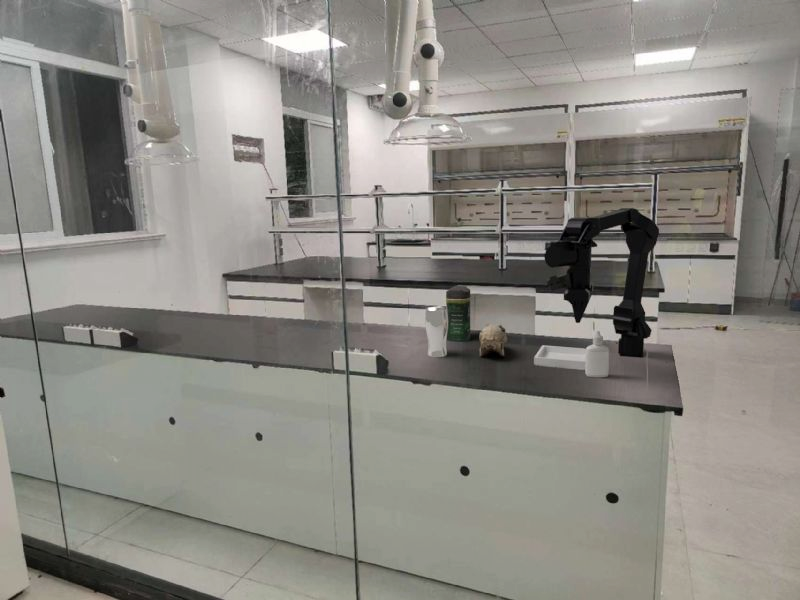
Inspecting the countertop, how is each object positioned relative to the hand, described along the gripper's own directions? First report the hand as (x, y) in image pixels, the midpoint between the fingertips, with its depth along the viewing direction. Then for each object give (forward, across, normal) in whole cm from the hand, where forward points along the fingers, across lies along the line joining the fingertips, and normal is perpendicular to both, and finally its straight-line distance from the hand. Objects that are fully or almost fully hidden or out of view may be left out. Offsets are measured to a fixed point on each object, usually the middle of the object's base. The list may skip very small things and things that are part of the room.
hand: (578, 321), depth 148 cm
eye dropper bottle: (+13, +7, +6) cm, 16 cm away
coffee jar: (+13, -19, -40) cm, 46 cm away
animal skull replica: (+13, -5, -24) cm, 28 cm away
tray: (+13, -4, -4) cm, 14 cm away
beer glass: (+13, +2, -40) cm, 43 cm away
